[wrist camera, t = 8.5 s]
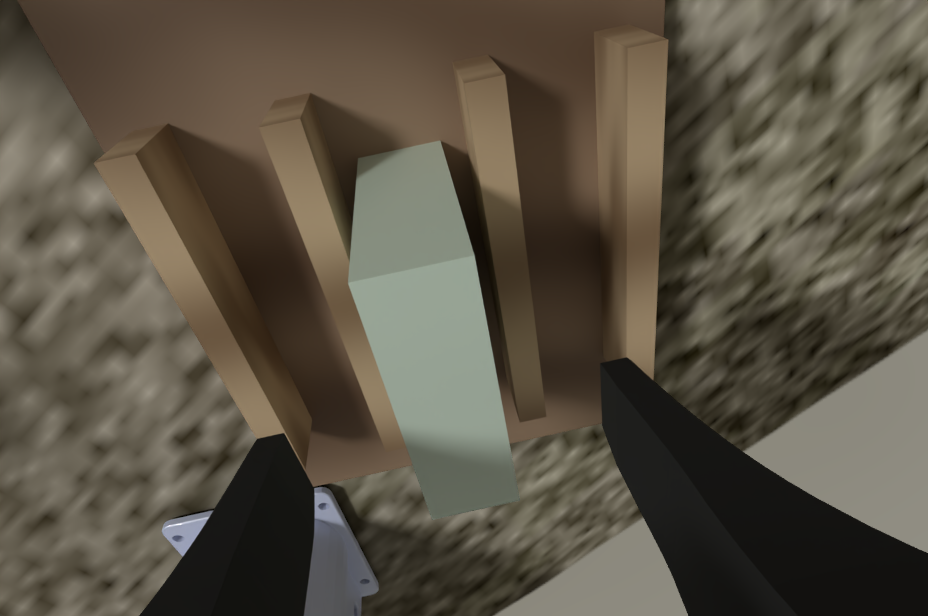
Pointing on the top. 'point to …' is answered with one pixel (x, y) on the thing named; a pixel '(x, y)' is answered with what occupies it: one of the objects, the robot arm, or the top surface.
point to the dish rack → (334, 183)
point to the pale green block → (430, 328)
